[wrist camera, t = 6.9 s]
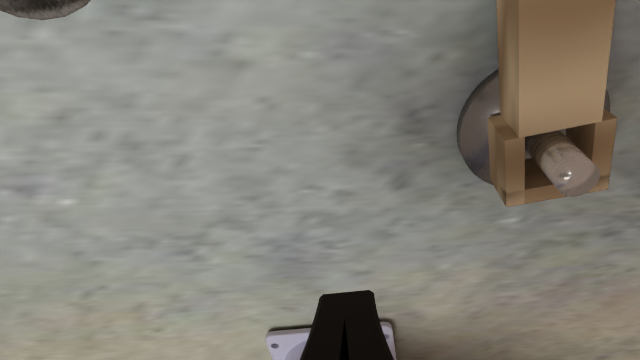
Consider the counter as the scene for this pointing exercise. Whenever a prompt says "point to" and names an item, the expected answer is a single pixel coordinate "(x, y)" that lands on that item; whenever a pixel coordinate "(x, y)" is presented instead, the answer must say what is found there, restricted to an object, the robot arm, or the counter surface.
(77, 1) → the dark grey tall piece
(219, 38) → the counter surface
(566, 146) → the pintle base
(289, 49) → the counter surface
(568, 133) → the link
